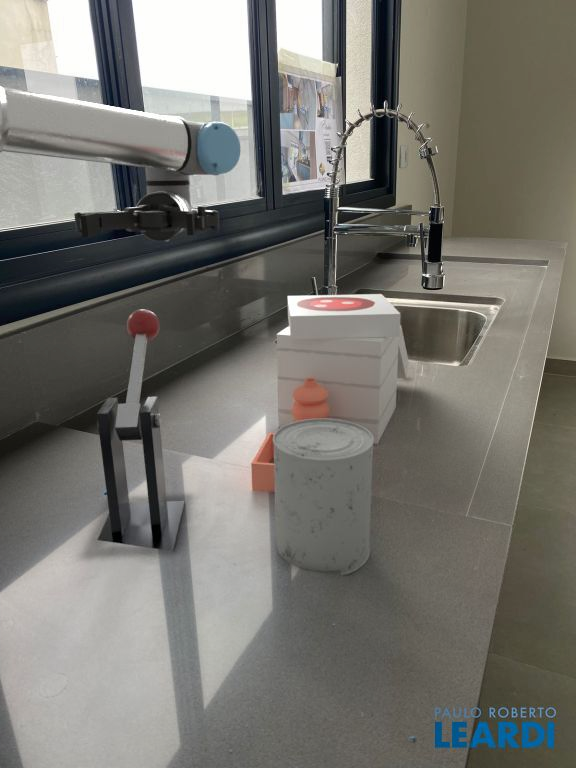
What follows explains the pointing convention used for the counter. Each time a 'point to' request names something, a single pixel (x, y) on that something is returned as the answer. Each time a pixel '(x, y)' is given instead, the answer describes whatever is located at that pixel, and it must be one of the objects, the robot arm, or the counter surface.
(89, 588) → the counter surface
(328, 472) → the grey tin can
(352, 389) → the pizza boxes
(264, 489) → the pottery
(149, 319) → the lever
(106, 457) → the bracket
